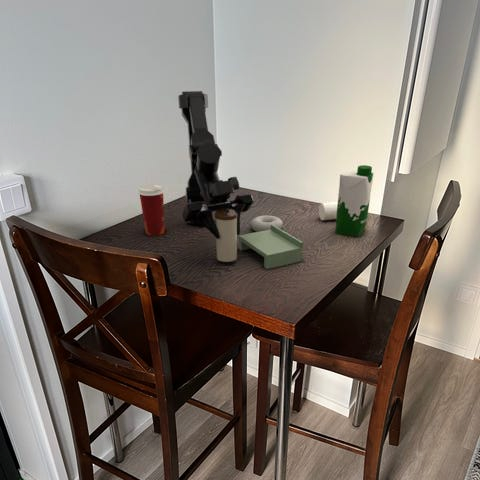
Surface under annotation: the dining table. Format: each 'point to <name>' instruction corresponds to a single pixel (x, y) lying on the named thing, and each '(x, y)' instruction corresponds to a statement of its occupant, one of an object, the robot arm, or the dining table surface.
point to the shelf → (273, 246)
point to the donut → (265, 223)
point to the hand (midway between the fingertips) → (228, 236)
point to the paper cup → (152, 208)
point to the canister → (226, 235)
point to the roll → (328, 211)
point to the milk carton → (354, 200)
